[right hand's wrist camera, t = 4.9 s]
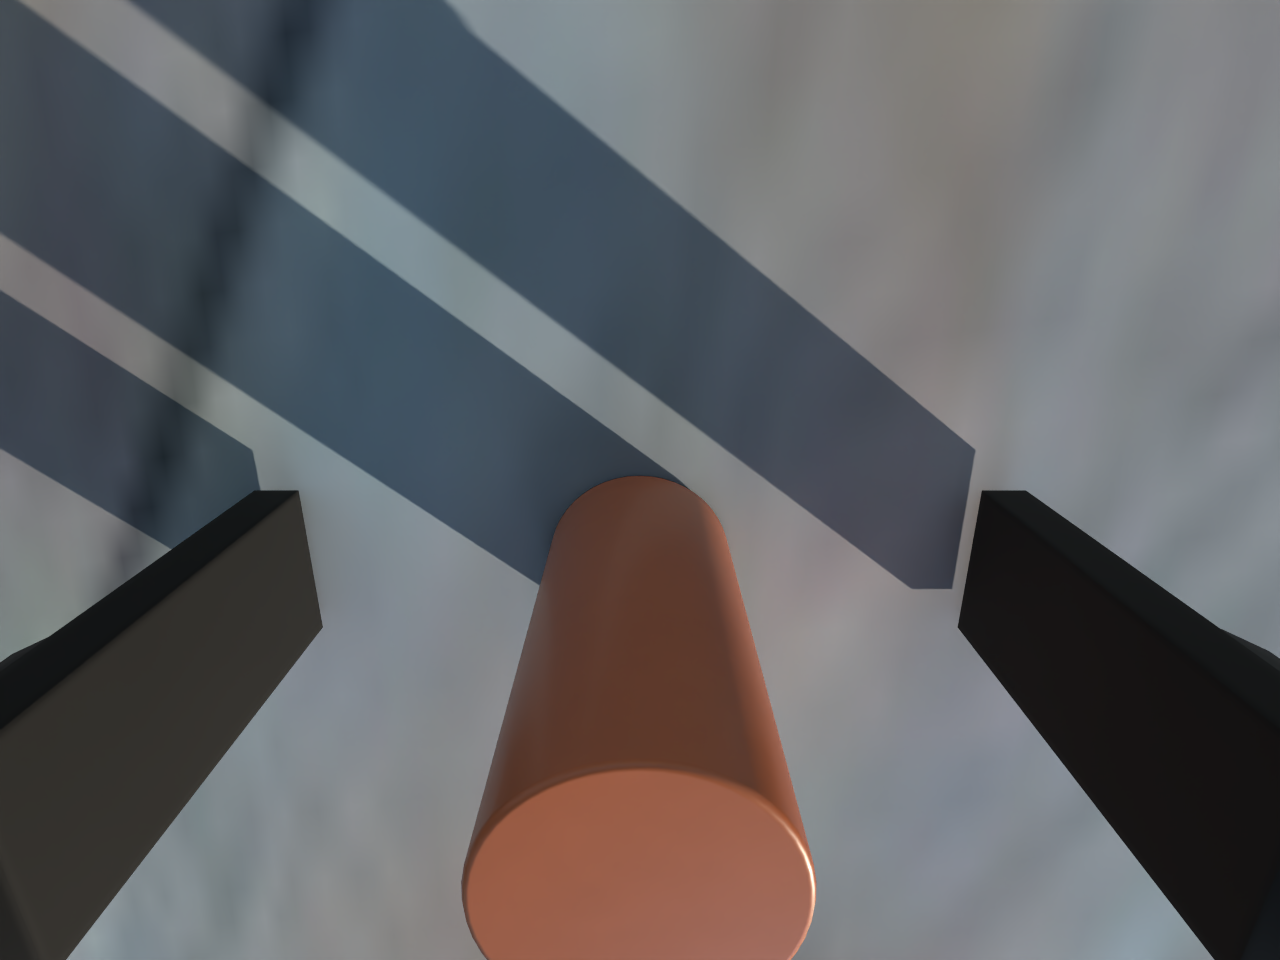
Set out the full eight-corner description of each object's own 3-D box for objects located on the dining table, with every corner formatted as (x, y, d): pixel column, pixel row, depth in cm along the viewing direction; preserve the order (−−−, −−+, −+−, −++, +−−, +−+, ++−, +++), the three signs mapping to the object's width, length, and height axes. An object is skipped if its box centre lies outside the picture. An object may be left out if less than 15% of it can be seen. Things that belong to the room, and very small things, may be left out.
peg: (554, 633, 14) (474, 1027, 7) (547, 474, 12) (442, 762, 6) (724, 633, 14) (803, 1028, 7) (731, 474, 12) (834, 764, 6)
